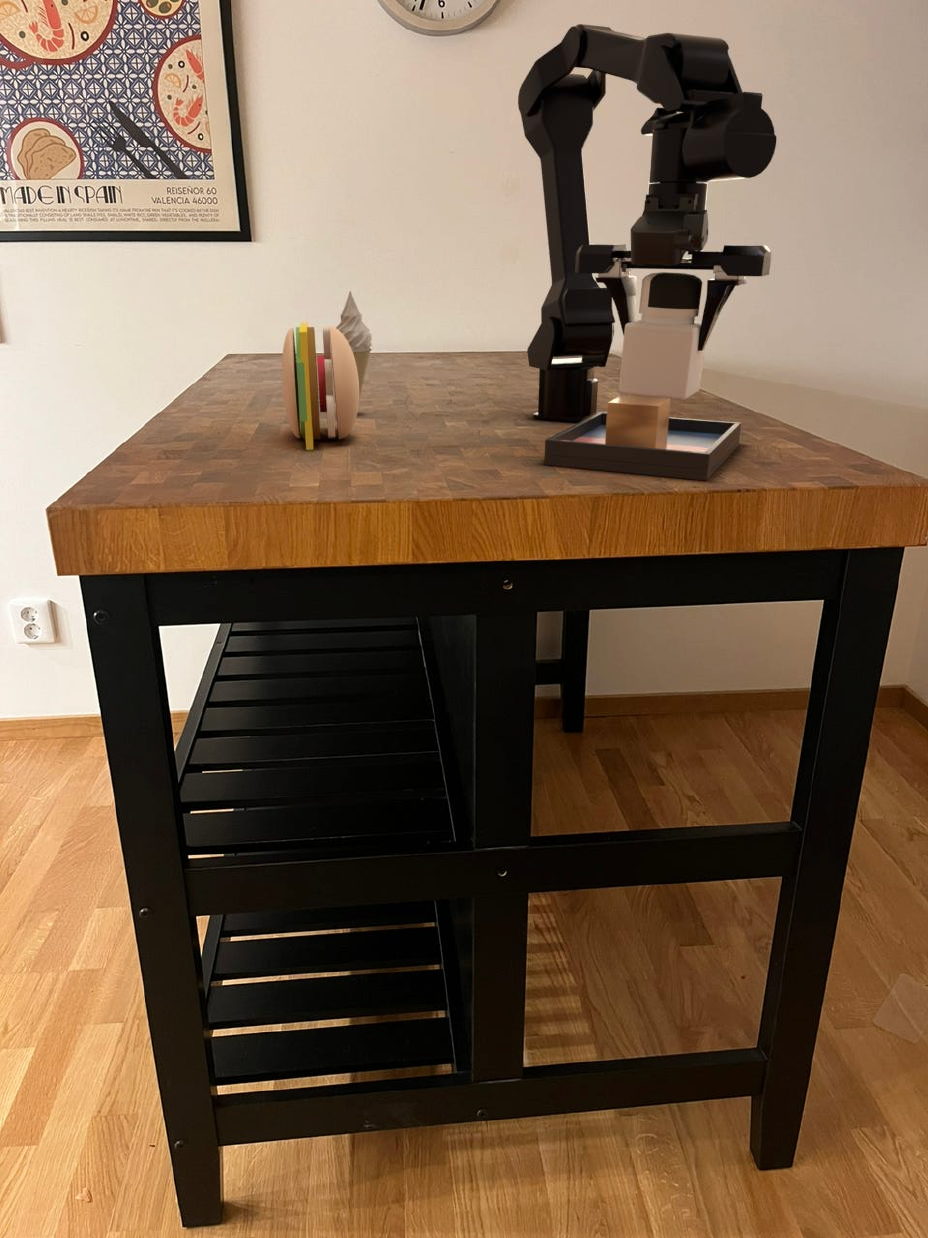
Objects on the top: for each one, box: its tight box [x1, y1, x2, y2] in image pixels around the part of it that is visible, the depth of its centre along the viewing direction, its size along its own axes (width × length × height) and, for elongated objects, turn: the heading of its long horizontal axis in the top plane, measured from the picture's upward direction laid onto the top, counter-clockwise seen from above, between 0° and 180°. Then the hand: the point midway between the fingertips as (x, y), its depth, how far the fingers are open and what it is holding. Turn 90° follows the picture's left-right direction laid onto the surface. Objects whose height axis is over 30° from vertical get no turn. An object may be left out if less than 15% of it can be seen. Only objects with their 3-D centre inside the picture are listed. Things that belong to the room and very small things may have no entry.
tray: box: [543, 411, 742, 481], centre depth 96 cm, size 16×18×2 cm
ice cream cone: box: [335, 290, 373, 400], centre depth 116 cm, size 5×5×15 cm
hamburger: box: [281, 322, 360, 451], centre depth 102 cm, size 12×8×12 cm
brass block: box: [605, 394, 672, 449], centre depth 92 cm, size 5×5×5 cm
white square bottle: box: [618, 271, 706, 401], centre depth 96 cm, size 7×7×12 cm
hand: (664, 348), depth 97 cm, fingers closed on white square bottle, 7 cm apart
